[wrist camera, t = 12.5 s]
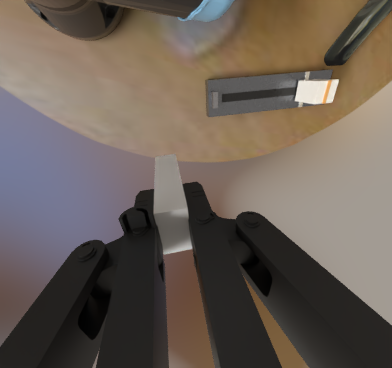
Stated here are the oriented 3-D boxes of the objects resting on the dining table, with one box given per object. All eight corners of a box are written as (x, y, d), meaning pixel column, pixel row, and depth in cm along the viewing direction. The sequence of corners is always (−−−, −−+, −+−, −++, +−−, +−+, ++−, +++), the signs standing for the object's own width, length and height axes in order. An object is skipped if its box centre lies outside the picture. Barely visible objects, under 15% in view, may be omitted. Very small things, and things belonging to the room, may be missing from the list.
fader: (298, 80, 38) (321, 81, 33) (315, 79, 39) (340, 79, 34) (294, 100, 40) (315, 104, 35) (310, 99, 41) (333, 102, 36)
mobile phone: (345, 67, 37) (418, -20, 31) (337, 58, 35) (412, -35, 30) (326, 68, 41) (387, -9, 35) (319, 59, 40) (381, -22, 34)
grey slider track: (205, 80, 37) (210, 80, 34) (325, 69, 41) (340, 69, 37) (206, 115, 41) (211, 118, 38) (316, 103, 44) (330, 105, 41)
